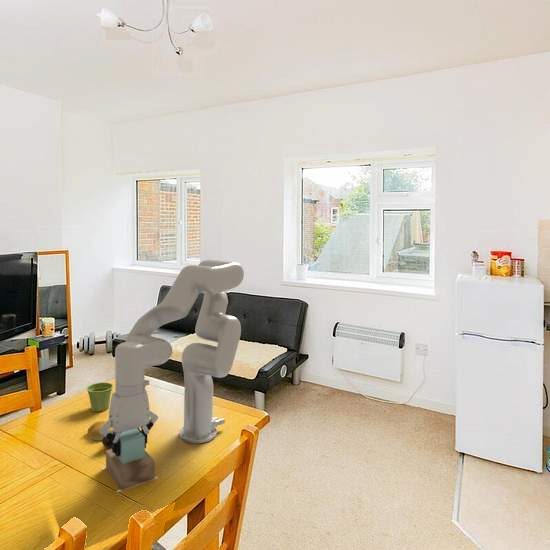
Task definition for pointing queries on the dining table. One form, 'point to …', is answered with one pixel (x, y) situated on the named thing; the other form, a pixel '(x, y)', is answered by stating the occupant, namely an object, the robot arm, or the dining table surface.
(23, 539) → the dining table surface
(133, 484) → the plinth
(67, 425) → the dining table surface
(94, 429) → the bread roll
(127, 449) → the teal cube
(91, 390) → the plant pot
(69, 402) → the dining table surface
